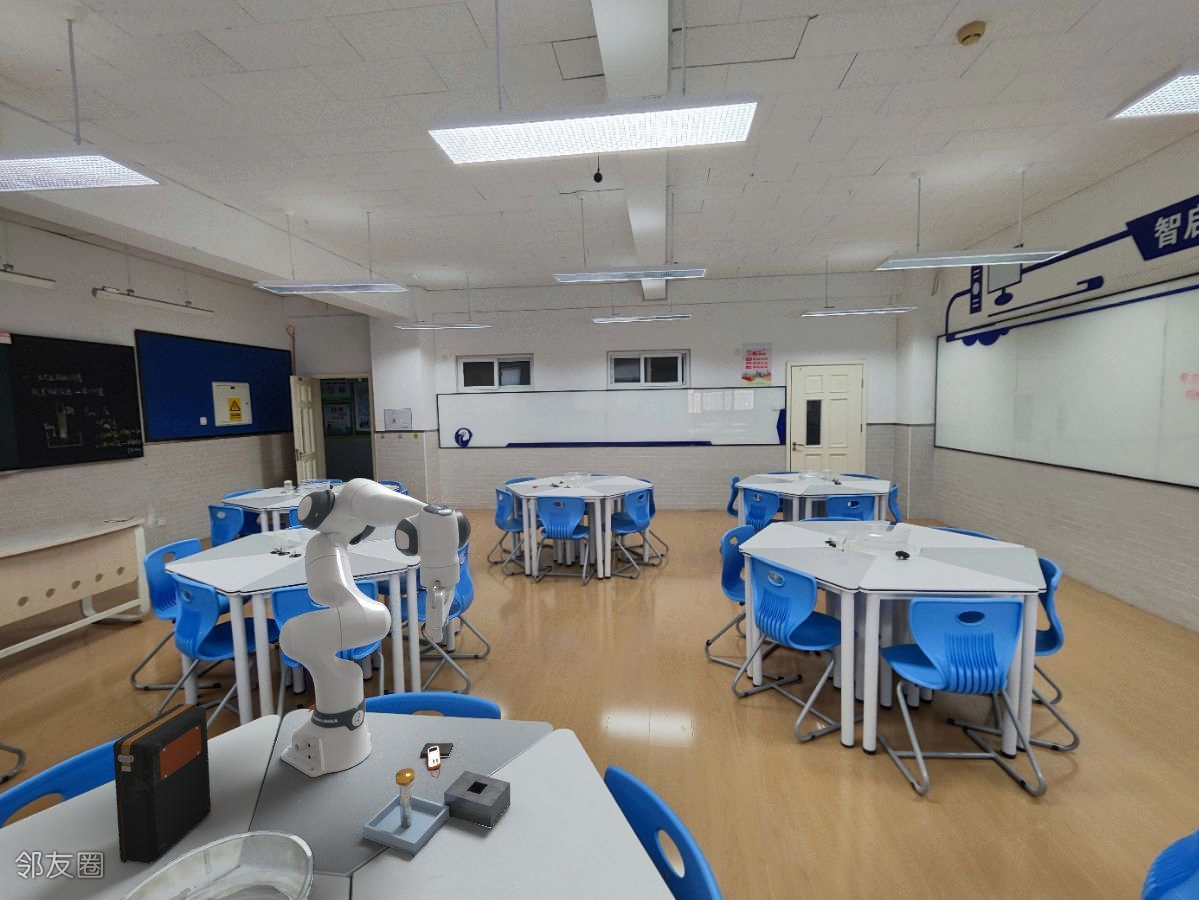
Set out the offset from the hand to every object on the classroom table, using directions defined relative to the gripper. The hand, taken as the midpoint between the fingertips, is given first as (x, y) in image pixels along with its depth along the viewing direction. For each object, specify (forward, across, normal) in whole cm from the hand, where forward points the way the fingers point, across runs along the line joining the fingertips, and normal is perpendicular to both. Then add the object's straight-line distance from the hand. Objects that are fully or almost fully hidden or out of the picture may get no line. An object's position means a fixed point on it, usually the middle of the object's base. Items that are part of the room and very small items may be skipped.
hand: (441, 633), depth 128 cm
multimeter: (+38, +7, +3) cm, 39 cm away
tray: (+37, -13, +6) cm, 40 cm away
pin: (+36, -13, +6) cm, 39 cm away
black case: (+37, -8, +55) cm, 67 cm away
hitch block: (+37, -9, -9) cm, 39 cm away
